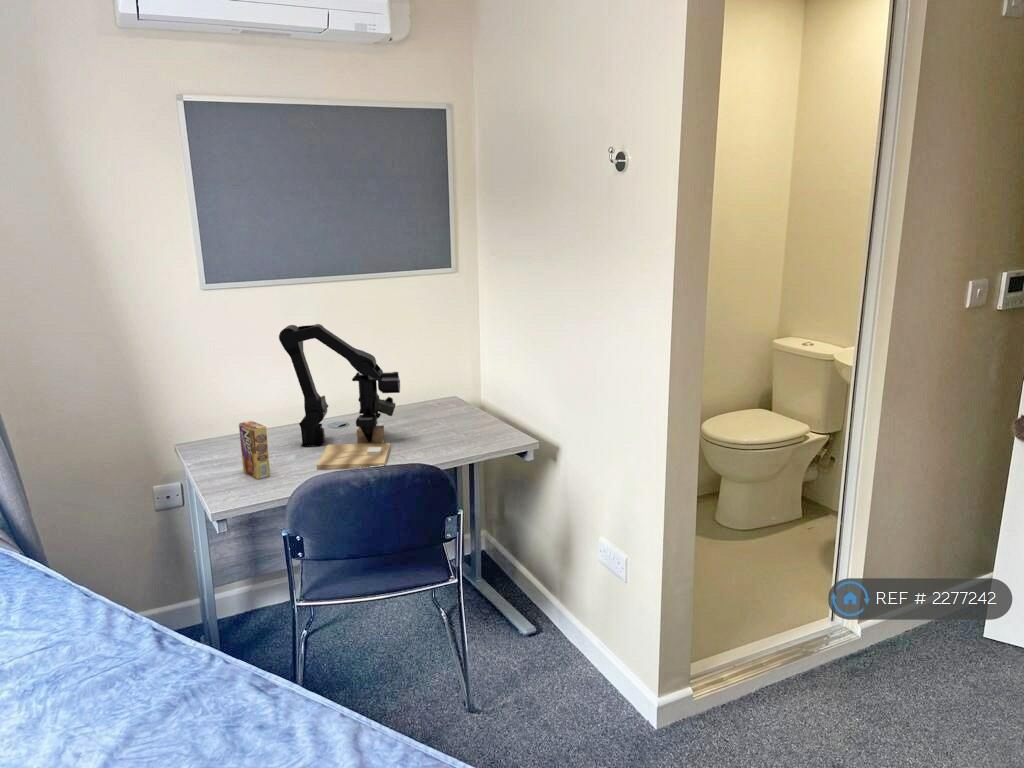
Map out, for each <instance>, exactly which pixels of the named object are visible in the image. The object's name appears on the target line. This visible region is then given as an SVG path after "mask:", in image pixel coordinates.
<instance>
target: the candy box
mask: <svg viewBox="0 0 1024 768" xmlns="http://www.w3.org/2000/svg"><path fill="white" fill-rule="evenodd" d="M238 428H239V429H238V430H239V440H240V449H241V450H240V451H241V460H242V470H243V473H245V474H246V475H248V476H251V477H253V478H255V479H257V480H260V479H263V478H267V477H270V476H271V471H270V459H269V458H270V457H269V444H268V434H267V433H268V432H267V426H266V425H263V424H260V423H257V422H255V421H253V420H247V421H246V420H245V421H243V422H240V423H238Z"/></svg>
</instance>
